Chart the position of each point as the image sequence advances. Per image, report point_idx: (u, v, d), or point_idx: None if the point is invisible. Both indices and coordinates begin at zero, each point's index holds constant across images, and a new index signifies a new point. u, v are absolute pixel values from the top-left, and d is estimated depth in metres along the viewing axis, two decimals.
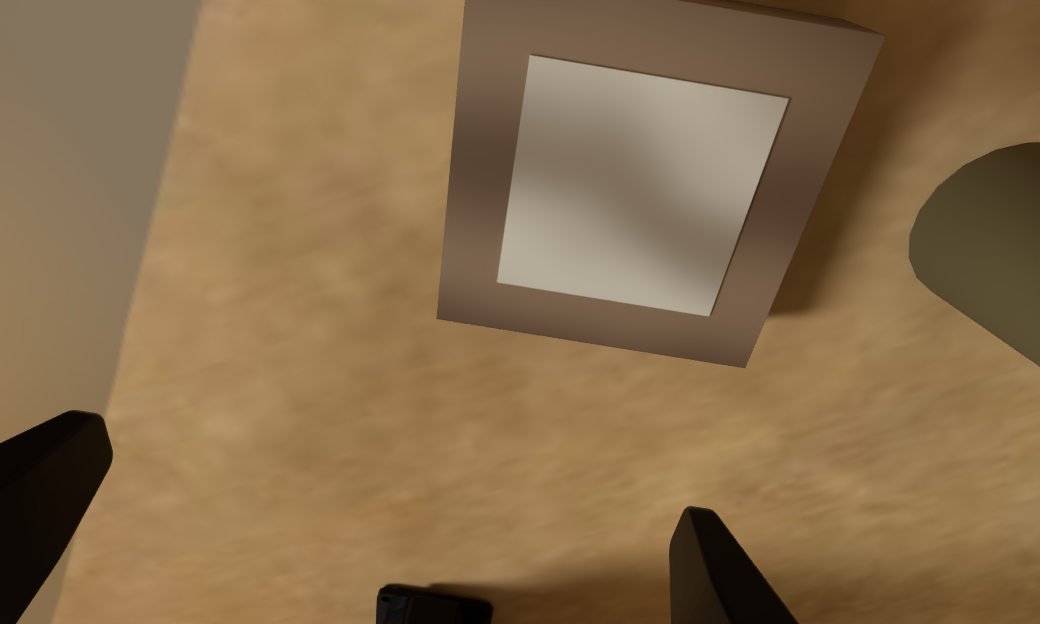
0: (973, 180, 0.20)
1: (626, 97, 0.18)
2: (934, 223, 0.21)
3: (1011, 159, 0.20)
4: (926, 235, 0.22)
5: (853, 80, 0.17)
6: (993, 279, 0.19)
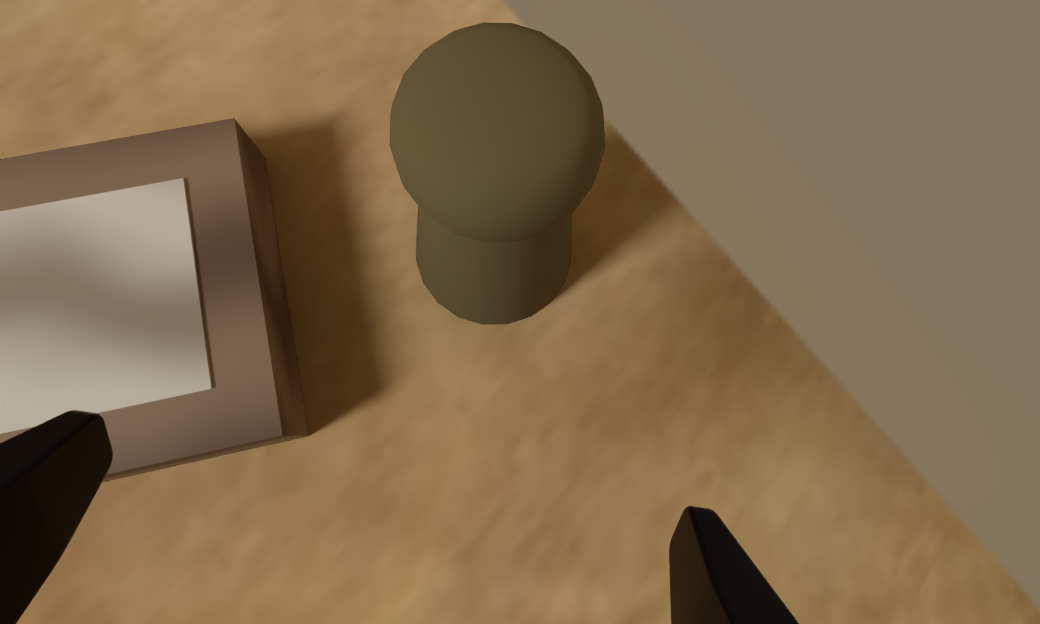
0: None
1: (51, 223, 0.21)
2: (417, 255, 0.23)
3: None
4: (421, 268, 0.23)
5: (228, 151, 0.22)
6: (422, 235, 0.20)
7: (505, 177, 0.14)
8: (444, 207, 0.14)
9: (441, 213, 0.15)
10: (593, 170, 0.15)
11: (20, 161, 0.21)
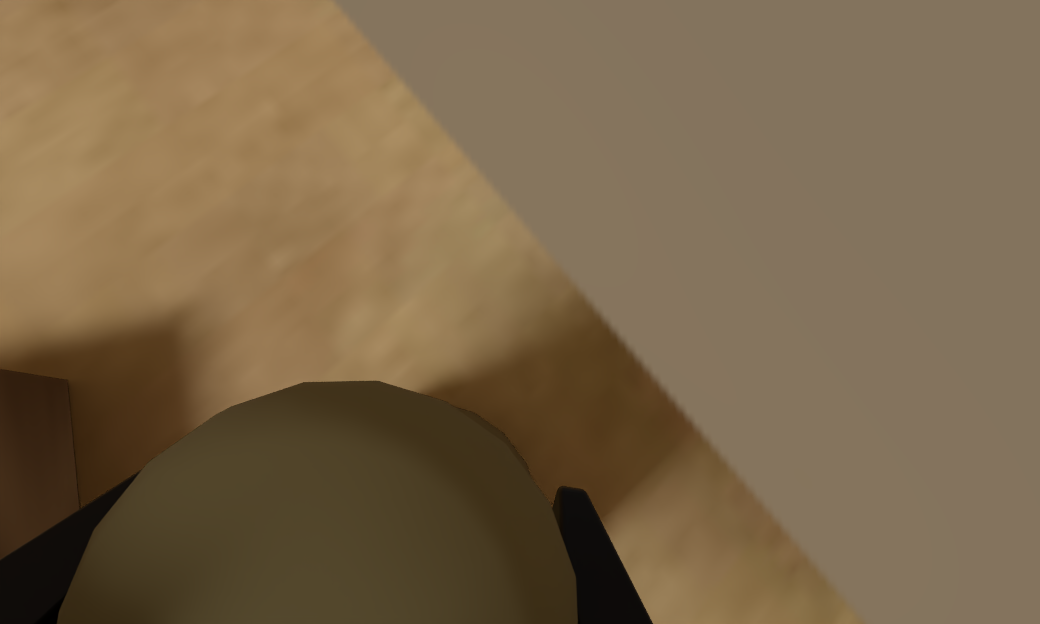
0: None
1: None
2: None
3: None
4: None
5: None
6: None
7: None
8: None
9: None
10: None
11: None
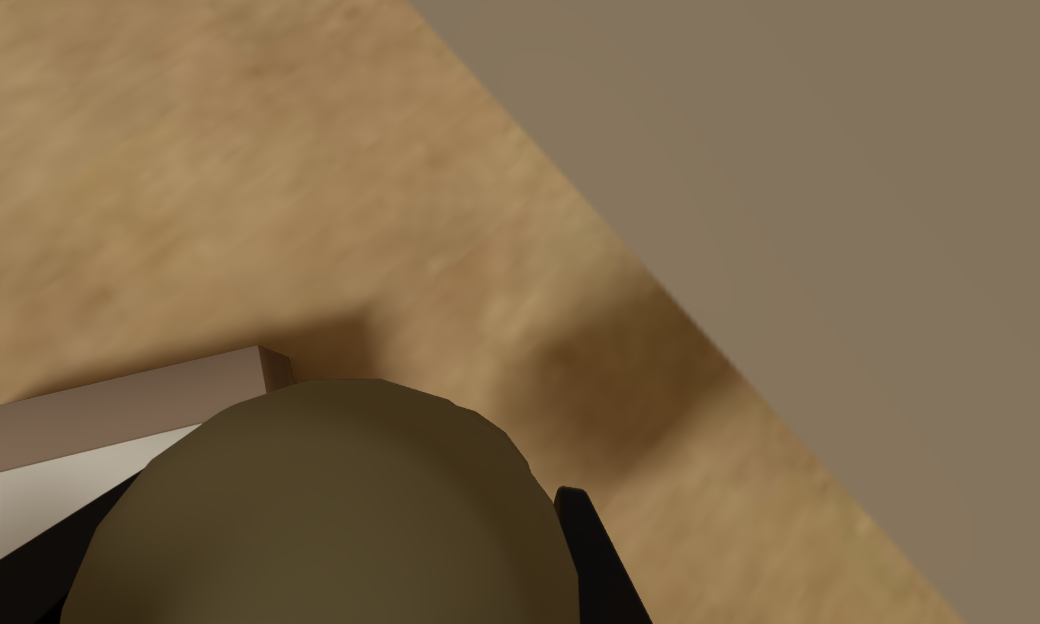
0: None
1: (50, 485, 0.18)
2: None
3: None
4: None
5: (252, 386, 0.19)
6: None
7: None
8: None
9: None
10: None
11: (11, 409, 0.18)
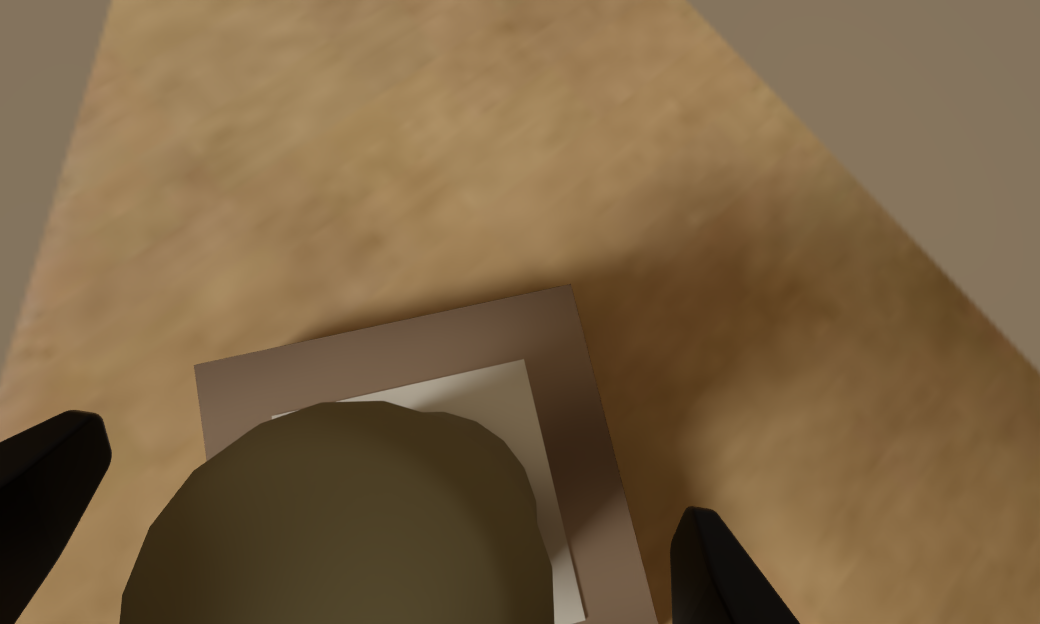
0: None
1: None
2: None
3: None
4: None
5: (569, 324, 0.19)
6: None
7: None
8: None
9: None
10: None
11: (335, 341, 0.18)
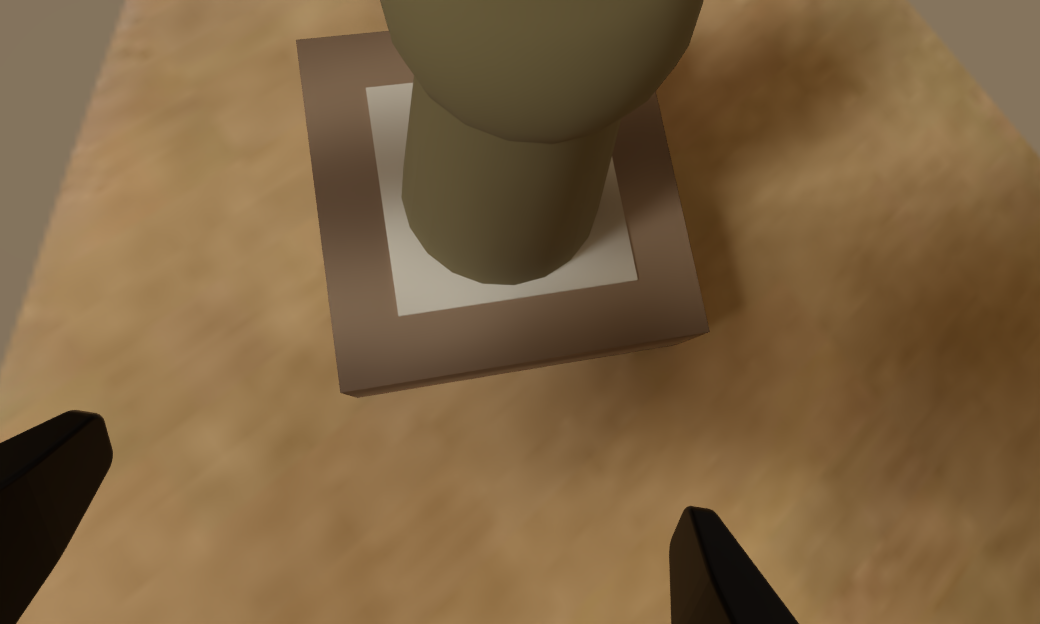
0: None
1: None
2: (403, 188, 0.18)
3: None
4: (408, 206, 0.18)
5: None
6: (413, 152, 0.15)
7: (561, 15, 0.08)
8: (457, 65, 0.09)
9: (451, 79, 0.09)
10: (690, 29, 0.09)
11: None
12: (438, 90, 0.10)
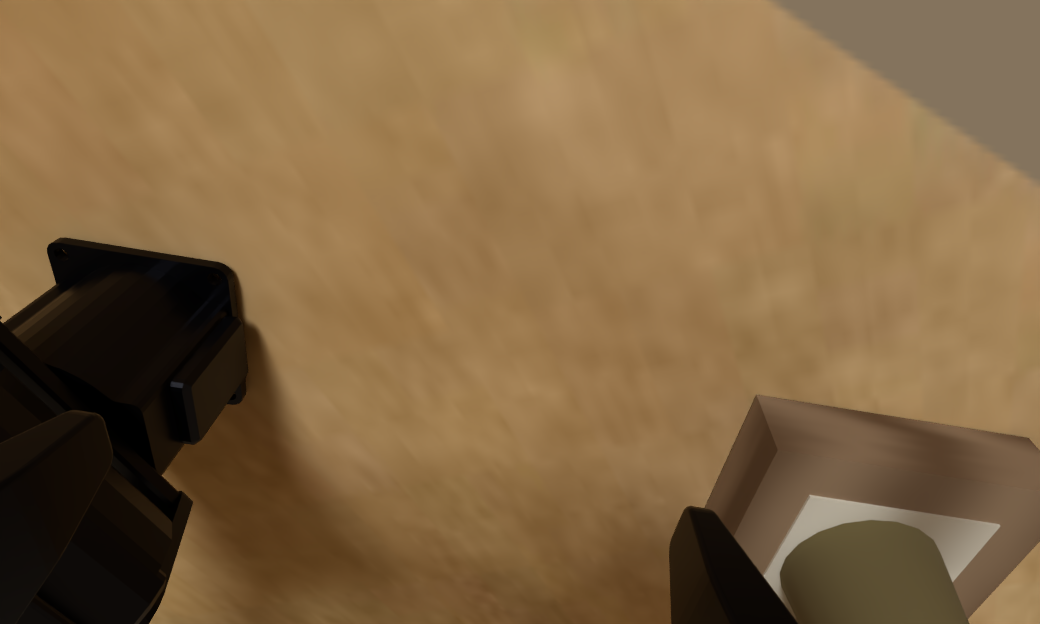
0: (938, 557, 0.23)
1: None
2: (903, 543, 0.23)
3: (947, 572, 0.24)
4: (887, 539, 0.23)
5: None
6: None
7: None
8: None
9: None
10: None
11: (1011, 565, 0.25)
12: None
